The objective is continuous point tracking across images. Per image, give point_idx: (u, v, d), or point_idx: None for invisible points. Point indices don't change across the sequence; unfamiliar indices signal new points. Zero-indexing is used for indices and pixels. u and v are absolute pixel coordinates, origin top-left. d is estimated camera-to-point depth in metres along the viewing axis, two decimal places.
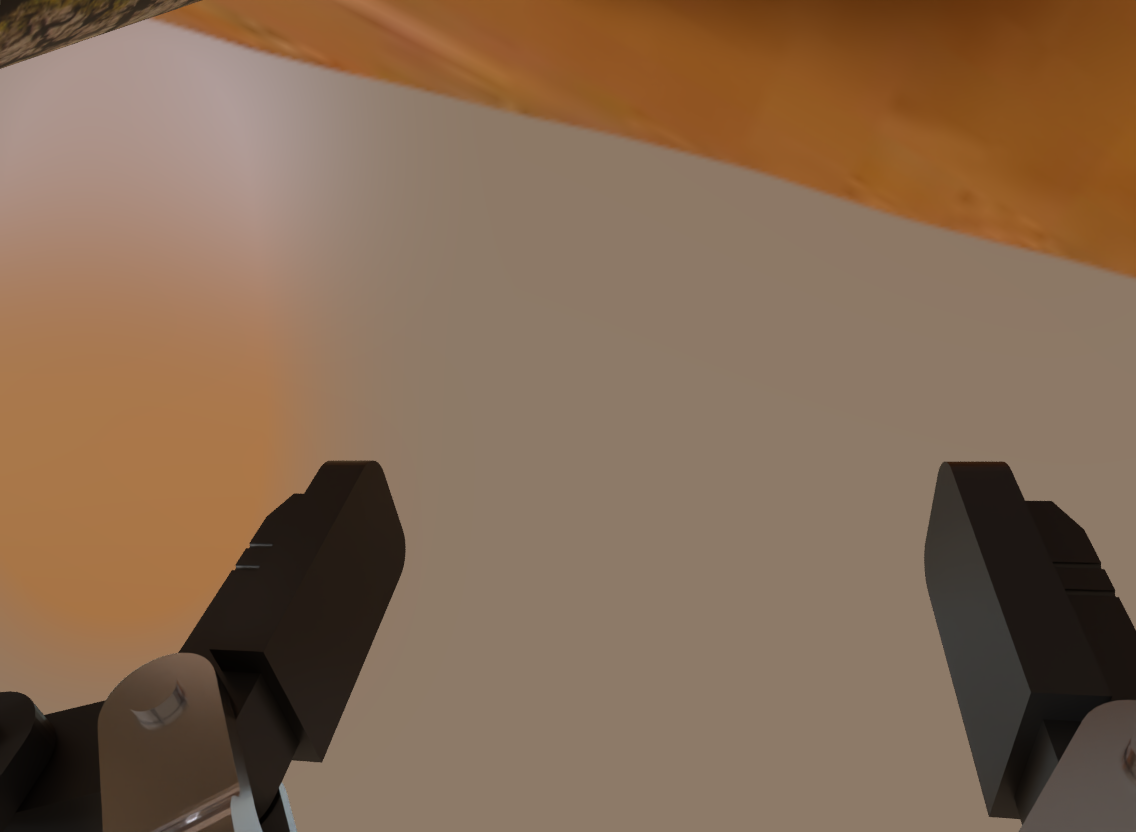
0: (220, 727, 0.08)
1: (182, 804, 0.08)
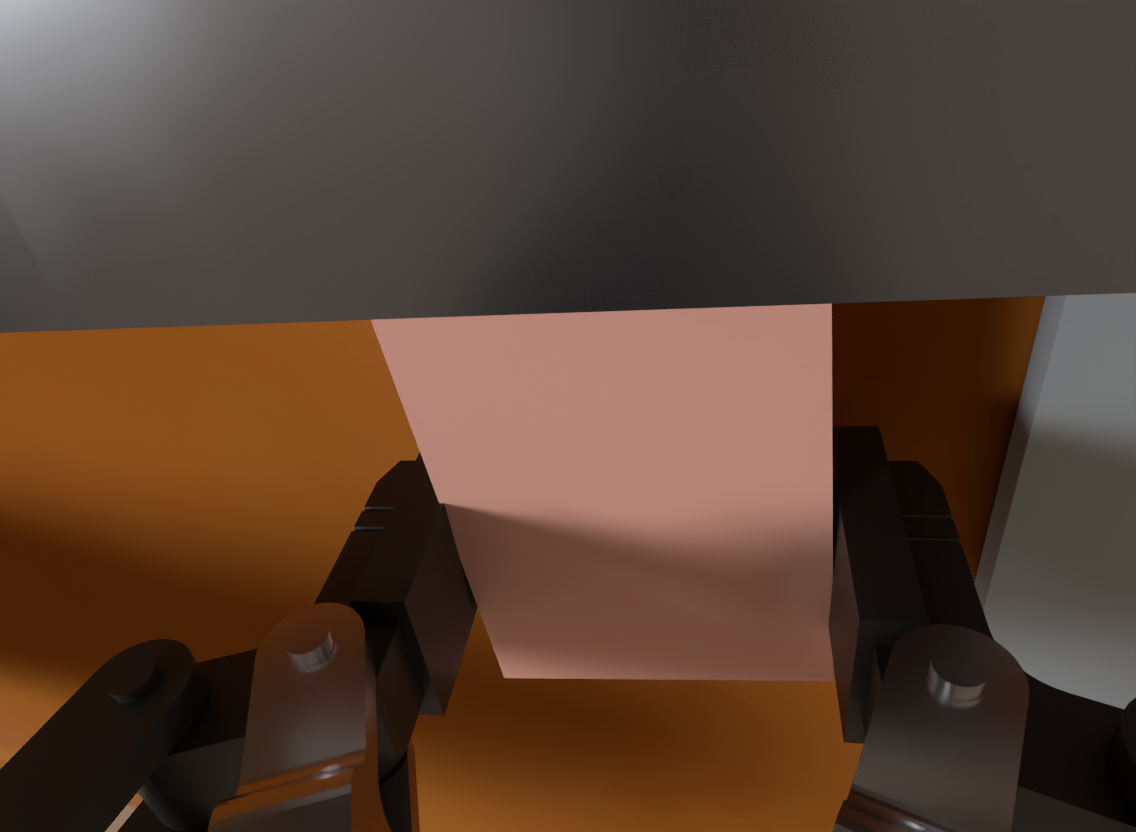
0: (359, 687, 0.08)
1: (312, 755, 0.08)
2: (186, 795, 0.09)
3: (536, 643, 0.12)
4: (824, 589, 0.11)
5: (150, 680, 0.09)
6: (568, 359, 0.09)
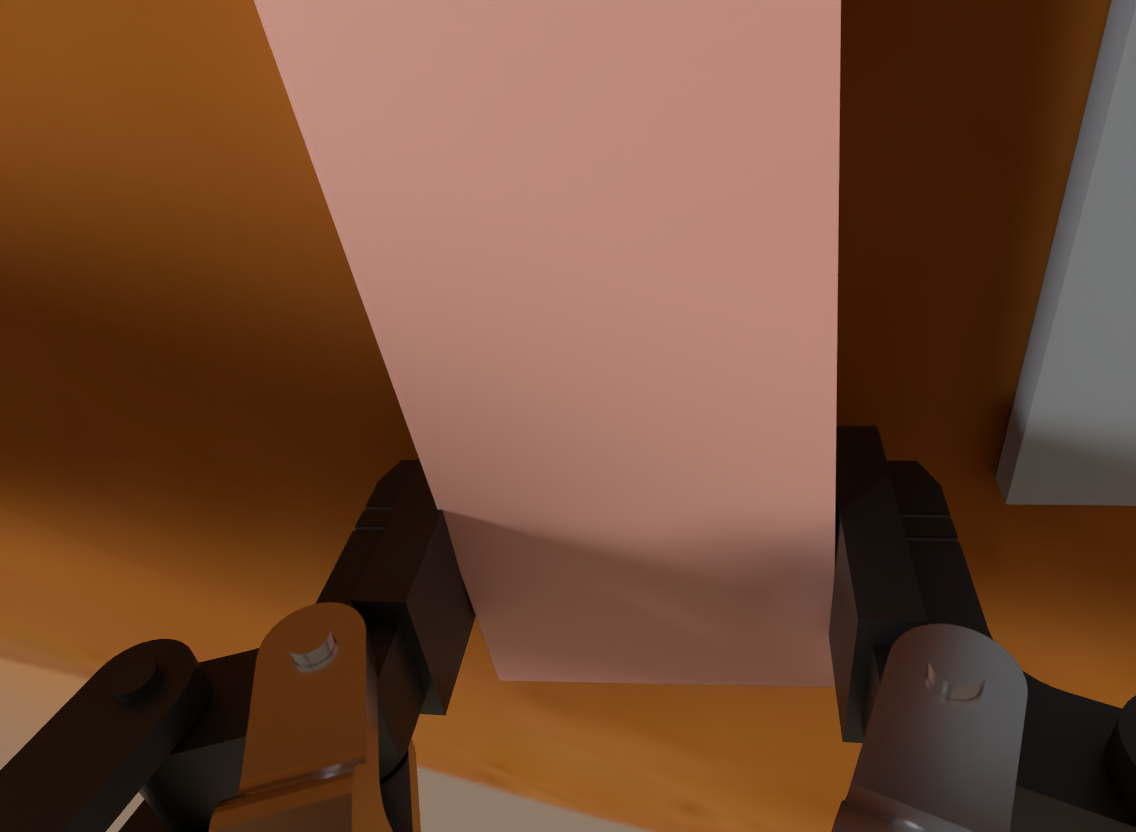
0: (360, 687, 0.08)
1: (314, 755, 0.08)
2: (187, 795, 0.09)
3: (532, 646, 0.12)
4: (825, 594, 0.10)
5: (151, 680, 0.09)
6: (567, 357, 0.09)
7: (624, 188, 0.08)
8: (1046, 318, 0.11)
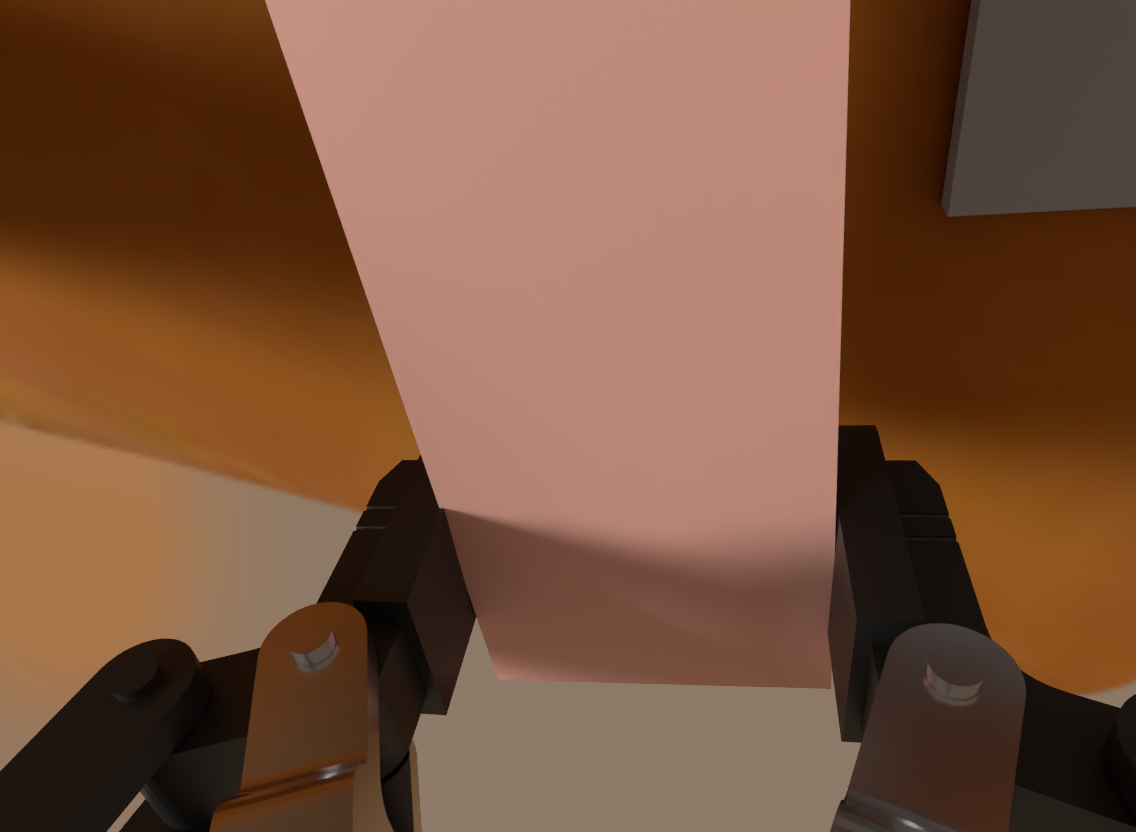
0: (361, 687, 0.08)
1: (315, 755, 0.08)
2: (188, 794, 0.09)
3: (532, 645, 0.12)
4: (825, 595, 0.10)
5: (153, 679, 0.09)
6: (572, 357, 0.09)
7: (632, 190, 0.08)
8: (971, 44, 0.14)
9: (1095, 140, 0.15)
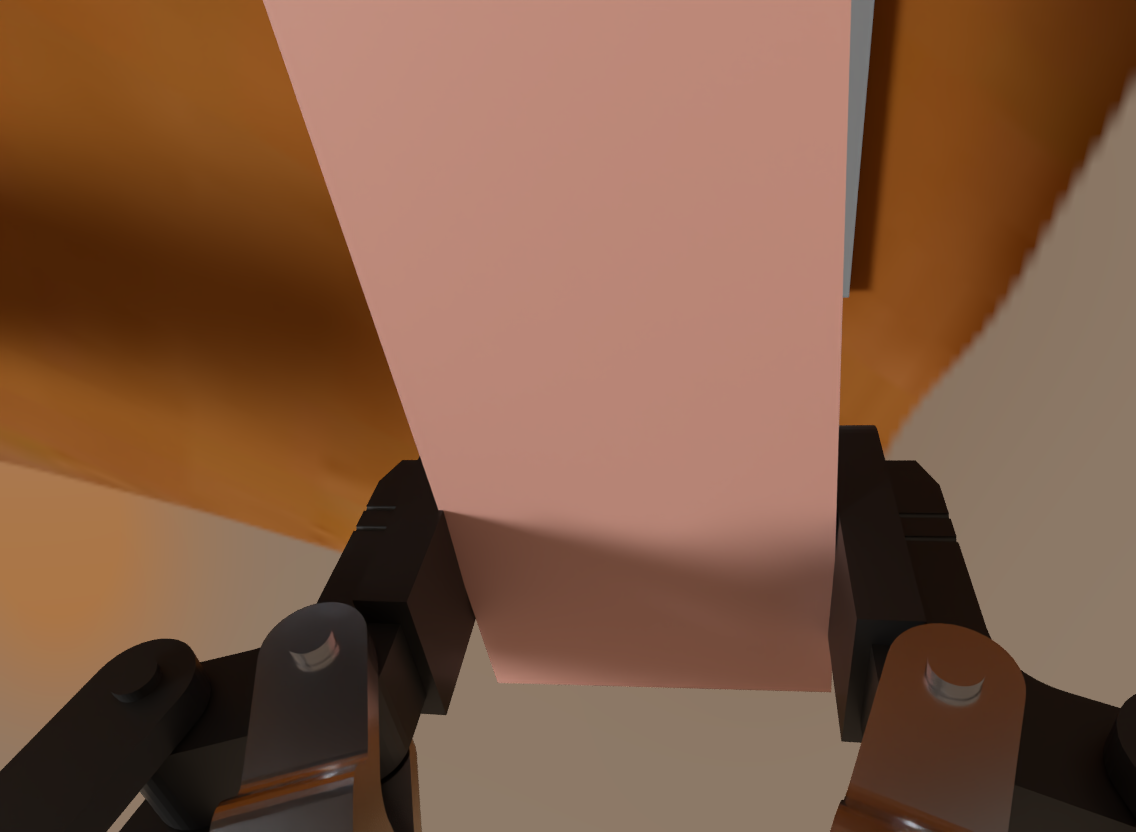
0: (361, 686, 0.08)
1: (315, 755, 0.08)
2: (188, 794, 0.09)
3: (531, 648, 0.12)
4: (825, 599, 0.10)
5: (153, 679, 0.09)
6: (572, 360, 0.09)
7: (631, 195, 0.08)
8: None
9: None
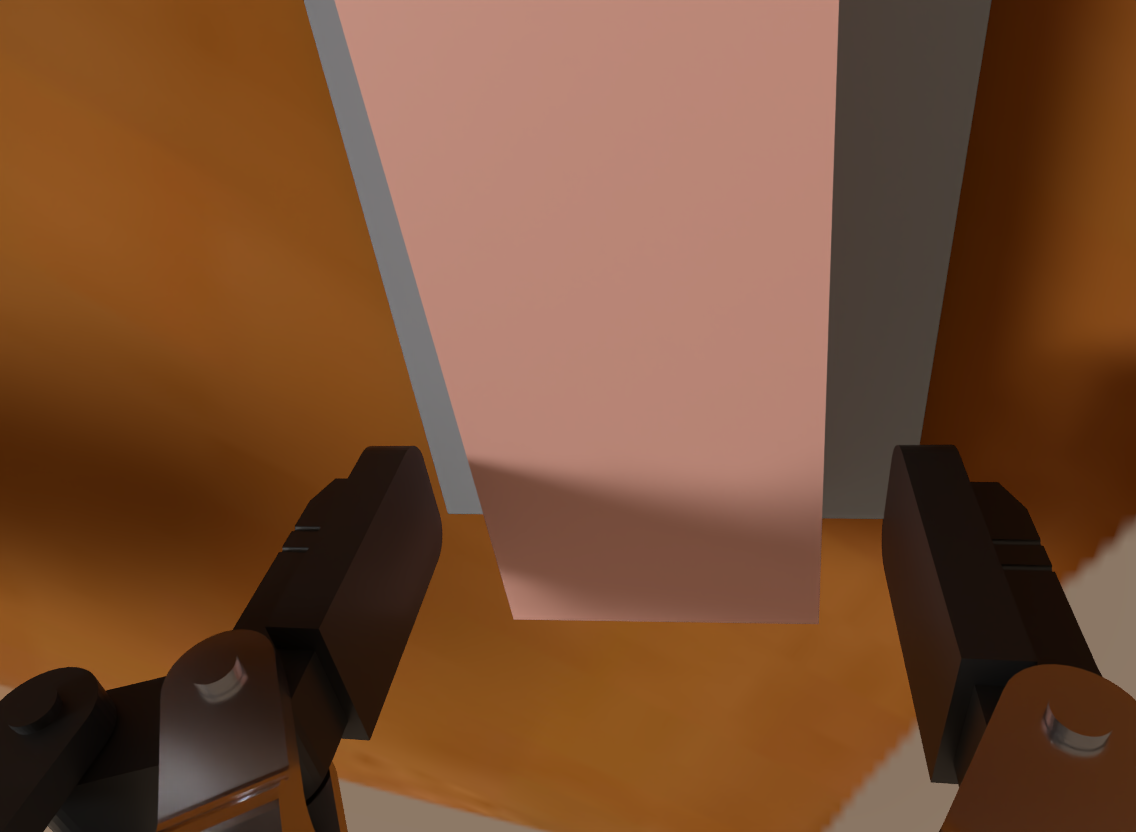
0: (275, 707, 0.08)
1: (234, 781, 0.08)
2: (103, 821, 0.09)
3: (545, 585, 0.13)
4: (813, 534, 0.12)
5: (53, 710, 0.09)
6: (591, 312, 0.10)
7: (648, 161, 0.09)
8: (416, 383, 0.15)
9: None
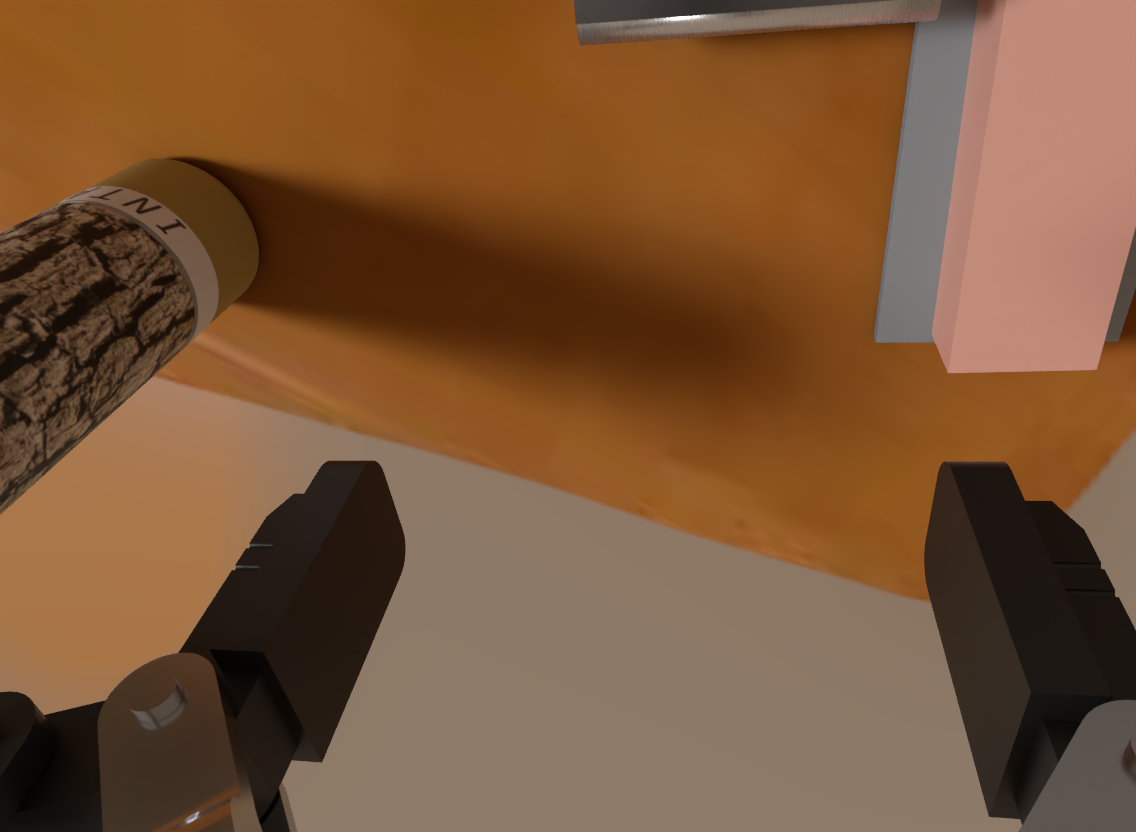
0: (220, 727, 0.08)
1: (182, 804, 0.08)
2: None
3: (971, 352, 0.30)
4: (1106, 321, 0.28)
5: None
6: (1042, 220, 0.27)
7: (1084, 163, 0.25)
8: (884, 270, 0.32)
9: None
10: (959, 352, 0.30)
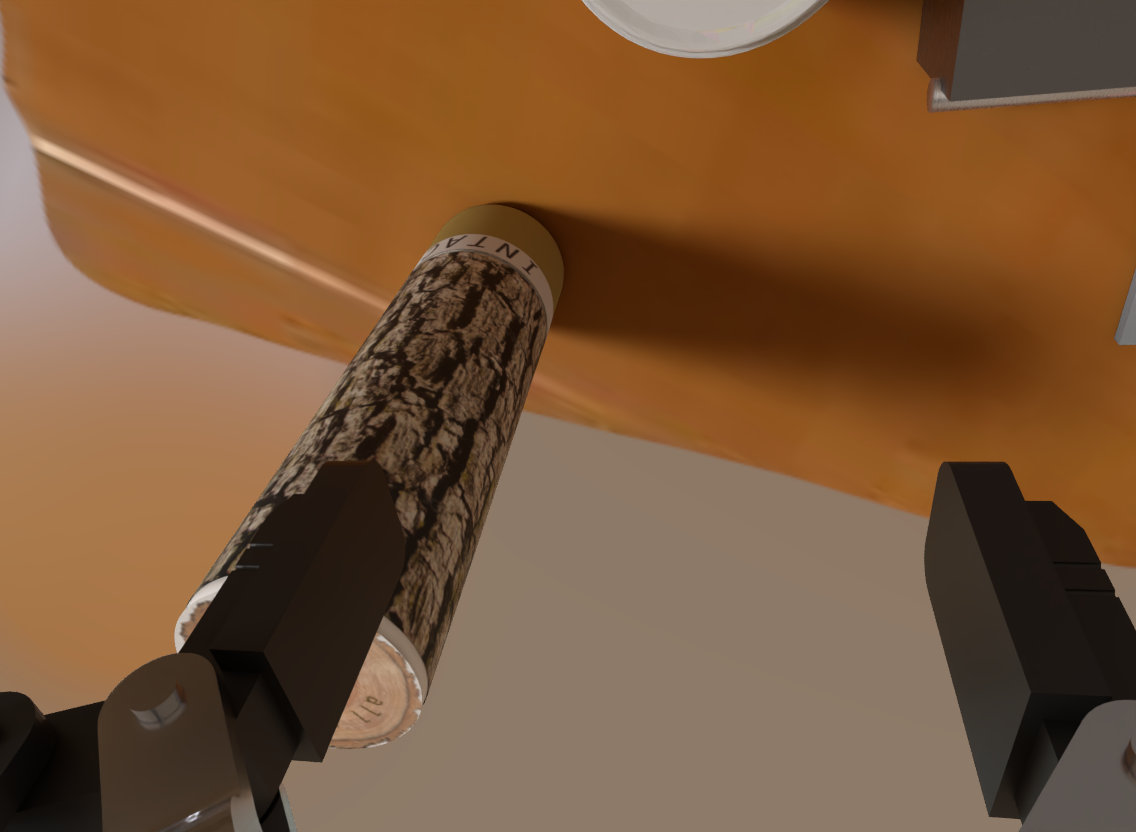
0: (220, 727, 0.08)
1: (182, 804, 0.08)
2: None
3: None
4: None
5: None
6: None
7: None
8: (1135, 283, 0.37)
9: None
10: None
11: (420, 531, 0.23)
